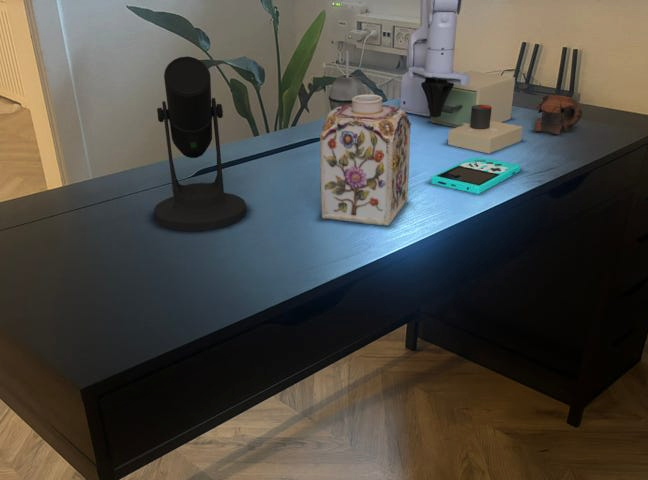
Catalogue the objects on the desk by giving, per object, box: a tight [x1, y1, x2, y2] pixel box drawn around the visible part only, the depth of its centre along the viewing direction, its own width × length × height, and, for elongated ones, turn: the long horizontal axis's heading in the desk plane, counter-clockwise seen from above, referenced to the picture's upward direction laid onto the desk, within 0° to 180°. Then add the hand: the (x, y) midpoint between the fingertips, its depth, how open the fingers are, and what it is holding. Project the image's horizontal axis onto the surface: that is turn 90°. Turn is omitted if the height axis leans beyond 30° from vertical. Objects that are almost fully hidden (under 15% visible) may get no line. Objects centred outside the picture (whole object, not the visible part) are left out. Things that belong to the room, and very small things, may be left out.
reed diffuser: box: [328, 50, 367, 111], centre depth 141 cm, size 7×7×20 cm
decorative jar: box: [319, 93, 412, 227], centre depth 116 cm, size 12×12×18 cm
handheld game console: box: [430, 157, 521, 195], centre depth 134 cm, size 10×16×1 cm, turn 141°
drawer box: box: [430, 70, 516, 128], centre depth 167 cm, size 14×12×9 cm
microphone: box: [153, 56, 247, 232], centre depth 114 cm, size 15×17×25 cm
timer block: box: [447, 121, 523, 155], centre depth 153 cm, size 11×12×3 cm
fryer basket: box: [428, 88, 477, 126], centre depth 164 cm, size 18×11×7 cm, turn 136°
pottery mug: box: [533, 94, 583, 135], centre depth 160 cm, size 12×10×8 cm
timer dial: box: [470, 105, 492, 129], centre depth 152 cm, size 4×4×4 cm
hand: (435, 116), depth 159 cm, fingers closed, pressing on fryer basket
